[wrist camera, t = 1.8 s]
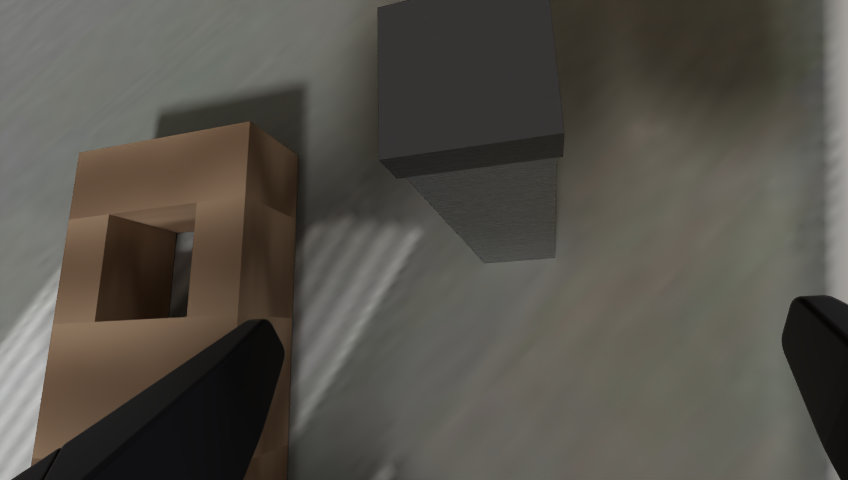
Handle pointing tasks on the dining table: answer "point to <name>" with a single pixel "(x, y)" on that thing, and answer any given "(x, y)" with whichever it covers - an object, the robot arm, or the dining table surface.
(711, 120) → the dining table surface
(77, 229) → the bit block
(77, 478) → the robot arm
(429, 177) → the block
